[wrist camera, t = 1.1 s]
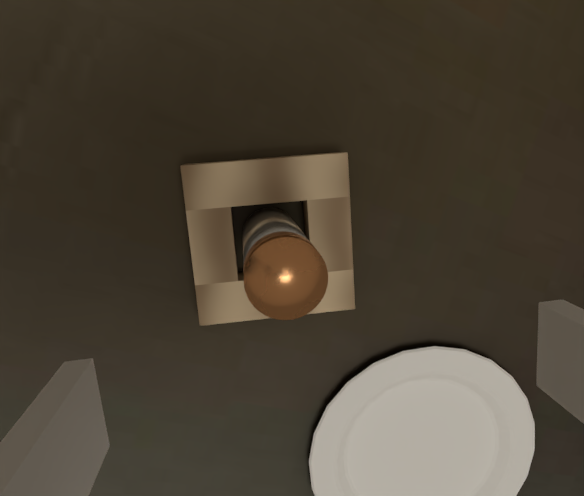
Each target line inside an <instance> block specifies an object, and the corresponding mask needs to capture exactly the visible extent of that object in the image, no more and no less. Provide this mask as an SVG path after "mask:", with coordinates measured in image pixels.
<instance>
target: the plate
mask: <svg viewBox="0 0 584 496" xmlns="http://www.w3.org/2000/svg"><path fill="white" fill-rule="evenodd" d="M534 450H535V423H534V420H533V416H532V413H531V409H530V406H529V403H528V399H527V397H526V396H525V394H524V393H523V391H522V390H521V389H520V387H519V386H518V384H517V383H516V381H515V380H514V378H513V377H512V376H511V375H510V374H508V373H507V372H506V371H505V370H503V369H502V368H501V367H500V366H498V365H497V364H496V363H495V362H493V361H492V360H491V359H489V358H486V357H484V356H481V355H479V354H476V353H473V352H471V351H468V350H466V349H463V348H453V347H444V346H427V347H420V348H414V349H407V350H402V351H399V352H397V353H395V354H392V355H390V356H387V357H385V358H383V359H380V360H378V361H375V362H373V363H371V364H370V365H369V366H367V367H366V368H365V369H363V370H362V371H360V372H359V373H358V374H356V375H355V376H354V377H352V378H351V379H349V380H348V381H347V382H346V383H345V384H344V385H343V387H342V388H341V389H340V390H339V391H338V392H337V394H336V395H335V396H334V397H333V398H332V400H331V401H330V402H329V403H328V404H327V406H326V408H325V410H324V412H323V414H322V416H321V418H320V420H319V422H318V424H317V426H316V428H315V431H314V433H313V439H312V444H311V450H310V455H309V468H310V477H311V486H312V490H313V492H314V495H315V496H516V495H517V493H518V492H519V490H520V488H521V486H522V485H523V483H524V481H525V479H526V478H527V475H528V472H529V468H530V465H531V461H532V458H533V454H534Z"/></svg>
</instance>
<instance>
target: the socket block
mask: <svg viewBox="0 0 584 496" xmlns="http://www.w3.org/2000/svg"><path fill="white" fill-rule="evenodd" d="M180 168H181V176H182V184H183V192H184V200H185V208H186V216H187V225H188V233H189V241H190V249H191V257H192V265H193V274H194V282H195V290H196V298H197V306H198V314H199V323H200V326H203V325H212V324H221V323H230V322H240V321H249V320H258V319H267V318H270V317H268V316H266V315H264V314H262V313H261V312H259V311H258V310H257V309H256V308H255V307H254V306H253V305H252V304H251V302H250V301H249V299H248V297H247V295H246V292H245V288H244V277H243V272H238V267H237V257H236V247H235V237H234V228H233V218H232V208H231V207H235V206H247V205H258V204H270V203H281V202H293V201H303V210H304V225H305V236H306V237H307V239H308V240H309V241H310V242H311V243H312V244H313V245H314V247H315V248H316V249H317V251H318V252H319V253H320V255H321V256H322V258H323V259H324V261H325V264H326V267H327V271H328V285H327V289H326V292H325V295H324V297H323V298H322V300H321V302H320V303H319V304H318V305H317V306H316V307H315V308H314V309H313V310H312V311H311V312H309V313H308V314H313V313H322V312H331V311H340V310H350V309H355V297H354V276H353V254H352V233H351V212H350V190H349V169H348V153H346V152H335V153H322V154H309V155H296V156H283V157H271V158H258V159H245V160H232V161H219V162H207V163H194V164H183V165H181V166H180Z"/></svg>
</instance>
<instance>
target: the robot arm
mask: <svg viewBox="0 0 584 496" xmlns="http://www.w3.org/2000/svg"><path fill="white" fill-rule="evenodd" d="M536 385H537V386H538V387H539V388H540V389H541V390H543V391H544V392H545V393H546V394H548V395H549V396H550V397H551V398H553V399H554V400H555V401H556V402H558V403H559V404H560V405H561V406H563V407H564V408H565V409H566V410H568V411H569V412H570V413H571V414H572V415H574V416H575V417H576V418H577V419H579V420H580V421H581V422H582V423H584V310H583V309H581V308H579V307H577V306H575V305H573V304H571V303H569V302H567V301H565V300H555V301H547V302H539V313H538V348H537V384H536ZM109 446H110V445H109V440H108V435H107V429H106V424H105V419H104V414H103V409H102V403H101V398H100V393H99V388H98V383H97V377H96V372H95V367H94V362H93V358H91V359H83V360H75V361H67V362H64V363H63V364H62V365H61V367H60V368H59V369H58V370H57V372H56V373H55V374H54V375H53V377H52V378H51V379H50V381H49V382H48V383H47V384H46V386H45V387H44V388H43V389H42V391H41V392H40V393H39V394H38V396H37V397H36V398H35V399H34V401H33V402H32V403H31V405H30V406H29V407H28V408H27V410H26V411H25V412H24V413H23V415H22V416H21V417H20V418H19V420H18V421H17V422H16V423H15V425H14V426H13V427H12V428H11V430H10V431H9V432H8V434H7V435H6V436H5V437H4V439H3V440H2V441H1V442H0V496H89V493H90V491H91V489H92V486H93V484H94V481H95V479H96V477H97V474H98V472H99V470H100V467H101V465H102V463H103V460H104V458H105V455H106V453H107V451H108V448H109Z"/></svg>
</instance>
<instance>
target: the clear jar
mask: <svg viewBox="0 0 584 496" xmlns="http://www.w3.org/2000/svg"><path fill="white" fill-rule="evenodd" d="M242 243H243V261H244V266H243V277H244V288H245V292H246V295H247V297H248V299H249V301H250V302H251V304H252V305H253V306H254V307H255V308H256V309H257V310H258V311H259V312H261V313H262V314H264V315H266V316H268V317H270V318H273V319H278V320H291V319H296V318H299V317H302V316H304V315H306V314H308V313H309V312H311V311H312V310H313V309H314V308H315V307H316V306H317V305H318V304H319V303H320V302H321V300H322V298H323V297H324V295H325V292H326V289H327V285H328V271H327V267H326V264H325V261H324V259H323V258H322V256H321V255H320V253H319V252H318V251H317V249H316V248H315V247H314V245H313V244H312V243H311V242H310V241H309V240H308V239H307V237H306V236H305V235H304V233H303V232H302V231H301V229H300V228H299V227H298V225H297V224H296V223H295V221H294V220H293V219H292V217H291V216H290V215H289V214H288V213H286V212H285V211H283V210H281V209H279V208H274V207H266V208H262V209H259V210H257V211H255V212H254V213H252V214H251V215H250V216H249V217H248V219H247V220H246V222H245V224H244V226H243V230H242Z"/></svg>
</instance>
